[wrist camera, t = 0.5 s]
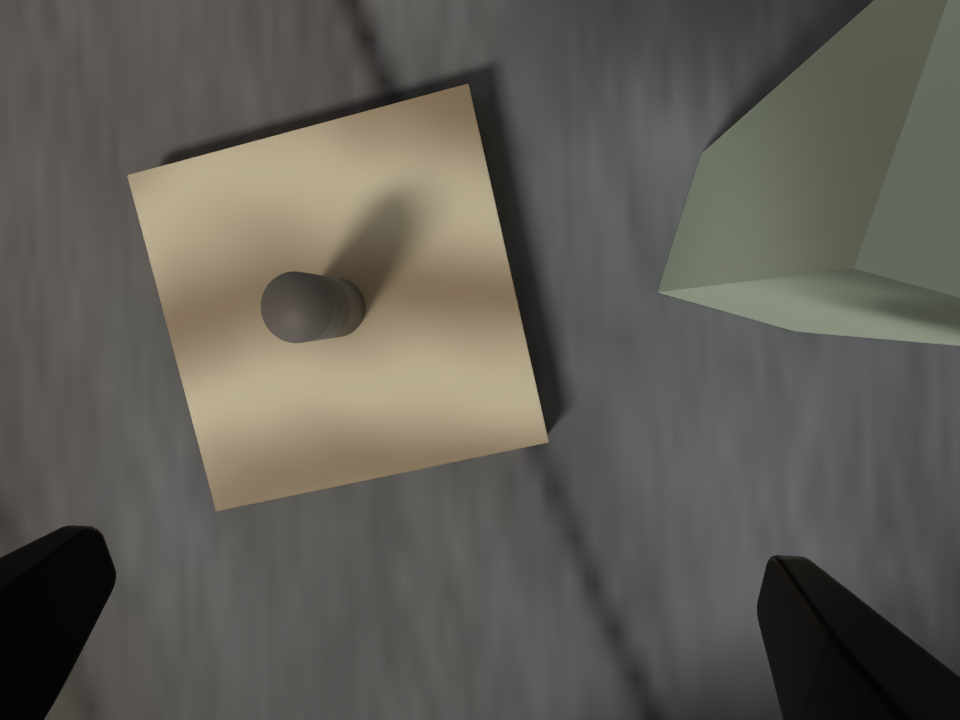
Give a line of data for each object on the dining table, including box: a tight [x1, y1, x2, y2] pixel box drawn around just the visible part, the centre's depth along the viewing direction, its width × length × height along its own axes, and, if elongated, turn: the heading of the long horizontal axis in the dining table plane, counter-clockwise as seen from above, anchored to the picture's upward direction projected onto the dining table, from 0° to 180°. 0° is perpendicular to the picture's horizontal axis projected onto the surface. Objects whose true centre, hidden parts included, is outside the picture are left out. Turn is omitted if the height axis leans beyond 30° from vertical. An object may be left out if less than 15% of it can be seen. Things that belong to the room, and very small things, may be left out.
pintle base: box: [127, 84, 549, 511], centre depth 19 cm, size 12×12×5 cm
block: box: [658, 0, 960, 346], centre depth 14 cm, size 5×5×12 cm
